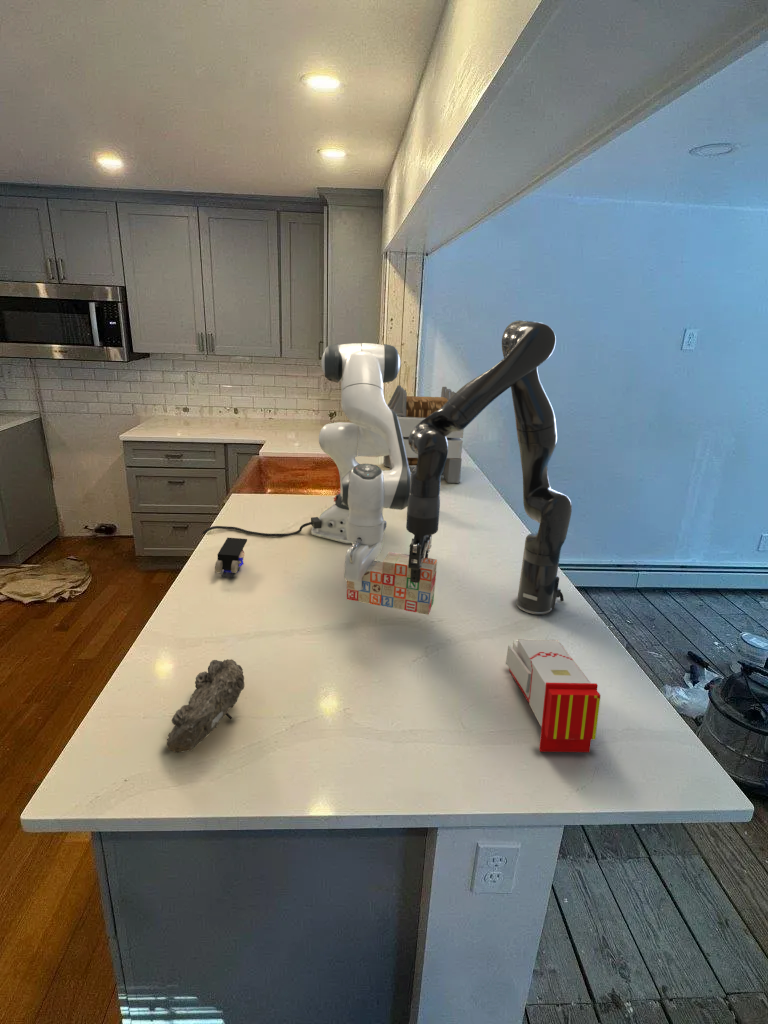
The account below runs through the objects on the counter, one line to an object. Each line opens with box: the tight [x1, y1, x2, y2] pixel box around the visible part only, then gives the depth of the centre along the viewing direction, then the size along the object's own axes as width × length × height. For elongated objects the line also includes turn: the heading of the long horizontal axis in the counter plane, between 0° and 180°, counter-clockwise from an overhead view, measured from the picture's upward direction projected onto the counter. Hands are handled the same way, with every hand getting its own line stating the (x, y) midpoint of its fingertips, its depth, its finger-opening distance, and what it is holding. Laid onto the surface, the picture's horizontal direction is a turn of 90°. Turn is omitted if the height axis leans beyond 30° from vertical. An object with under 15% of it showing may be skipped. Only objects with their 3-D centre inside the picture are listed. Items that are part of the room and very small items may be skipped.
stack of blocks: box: [346, 551, 438, 616], centre depth 140 cm, size 21×6×12 cm, turn 74°
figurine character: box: [214, 537, 248, 578], centre depth 166 cm, size 7×8×15 cm
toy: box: [505, 638, 602, 753], centre depth 114 cm, size 12×13×30 cm
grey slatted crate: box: [383, 384, 465, 484], centre depth 268 cm, size 34×33×41 cm
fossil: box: [166, 658, 245, 754], centre depth 106 cm, size 22×10×15 cm
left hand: (363, 582), depth 143 cm, fingers closed on stack of blocks, 6 cm apart
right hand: (418, 574), depth 138 cm, fingers open, 8 cm apart
